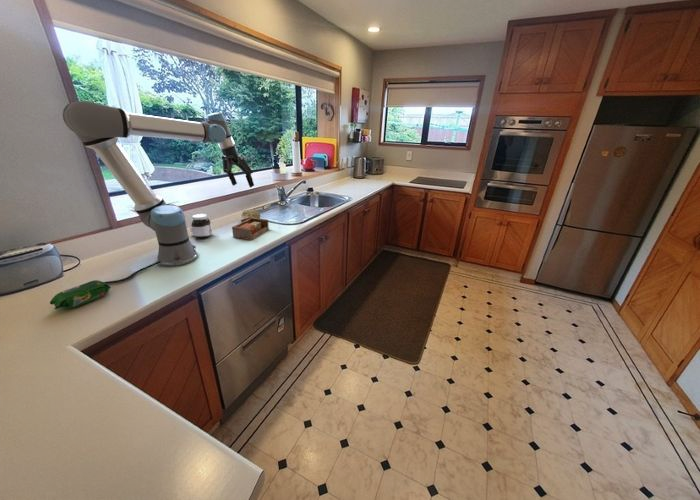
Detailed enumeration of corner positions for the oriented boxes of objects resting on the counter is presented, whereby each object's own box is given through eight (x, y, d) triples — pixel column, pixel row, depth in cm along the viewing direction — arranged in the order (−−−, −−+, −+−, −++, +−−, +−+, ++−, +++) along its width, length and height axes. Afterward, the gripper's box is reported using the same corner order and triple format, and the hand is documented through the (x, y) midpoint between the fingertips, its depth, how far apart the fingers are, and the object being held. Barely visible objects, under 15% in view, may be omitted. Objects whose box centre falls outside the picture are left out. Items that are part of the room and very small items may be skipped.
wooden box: (250, 240, 149) (249, 229, 147) (233, 237, 152) (231, 226, 150) (268, 229, 165) (268, 219, 163) (252, 227, 168) (251, 217, 166)
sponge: (258, 228, 170) (265, 212, 186) (253, 217, 166) (261, 201, 182) (237, 231, 171) (246, 215, 187) (232, 220, 166) (242, 204, 183)
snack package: (48, 309, 90) (42, 296, 88) (105, 287, 103) (100, 275, 101) (59, 316, 87) (52, 303, 85) (116, 292, 100) (111, 280, 98)
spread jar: (205, 240, 147) (202, 218, 143) (184, 239, 147) (180, 217, 143) (216, 232, 158) (213, 212, 154) (196, 231, 158) (192, 211, 154)
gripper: (250, 143, 138) (264, 184, 150) (217, 143, 149) (233, 181, 162) (239, 149, 133) (254, 190, 145) (206, 148, 144) (223, 186, 157)
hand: (243, 185), depth 154 cm, fingers open, 13 cm apart
